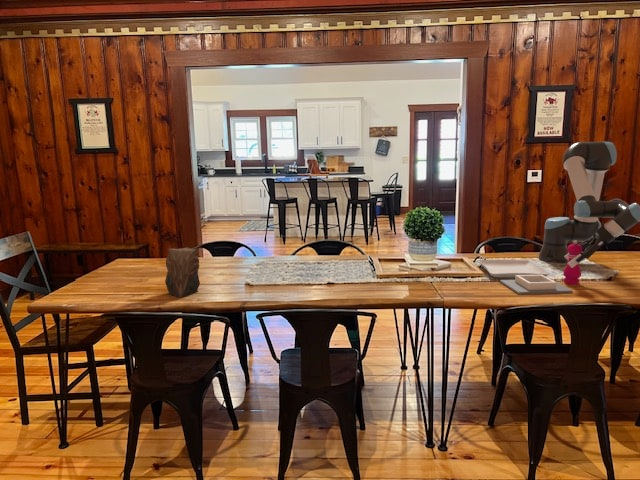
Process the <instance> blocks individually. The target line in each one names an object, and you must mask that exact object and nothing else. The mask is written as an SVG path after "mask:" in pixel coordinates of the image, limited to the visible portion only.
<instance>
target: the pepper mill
mask: <svg viewBox="0 0 640 480" xmlns="http://www.w3.org/2000/svg"><path fill="white" fill-rule="evenodd" d="M579 244H580V243H578V241H576V240H575V241H572V243H571V244H569V245H567V251H568V253H569V254H568V257H569V260H568V262H570V261H571V260H572V259H574V258H575V257H577V256H578V255H579V254H580V253H583V250H582V247H581V246H580V245H579ZM568 262H567V264H566V266H565V267H564V270H563V272H562V273H563V276H564V277H563V283H565V284H567V285H573V286H575V285H579V284H580V278H581V277H582V271H581V267H580V263H578V264H577V265H576V266H574V267H573V268H571V267H570V265H569V264H568Z"/></svg>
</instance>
